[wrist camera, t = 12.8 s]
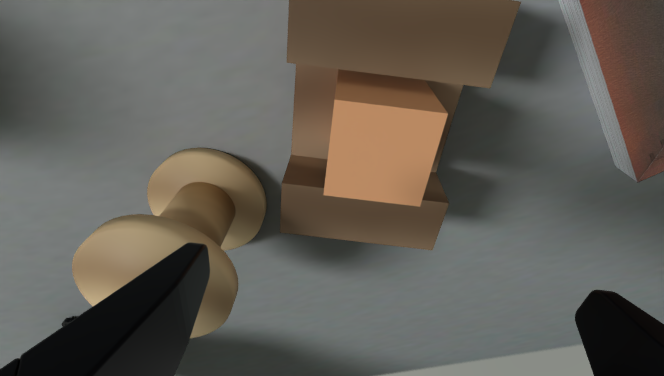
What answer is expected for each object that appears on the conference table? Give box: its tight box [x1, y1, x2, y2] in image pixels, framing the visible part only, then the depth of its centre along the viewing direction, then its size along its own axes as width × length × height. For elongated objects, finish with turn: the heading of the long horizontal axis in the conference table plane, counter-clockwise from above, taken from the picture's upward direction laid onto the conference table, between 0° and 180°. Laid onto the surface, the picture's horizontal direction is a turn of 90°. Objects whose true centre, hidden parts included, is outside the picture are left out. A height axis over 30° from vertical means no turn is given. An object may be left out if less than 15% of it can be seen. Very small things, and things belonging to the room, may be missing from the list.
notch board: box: [280, 0, 521, 250], centre depth 17 cm, size 12×8×4 cm
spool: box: [72, 148, 267, 338], centre depth 19 cm, size 7×7×8 cm
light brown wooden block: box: [323, 69, 448, 207], centre depth 15 cm, size 4×4×5 cm
